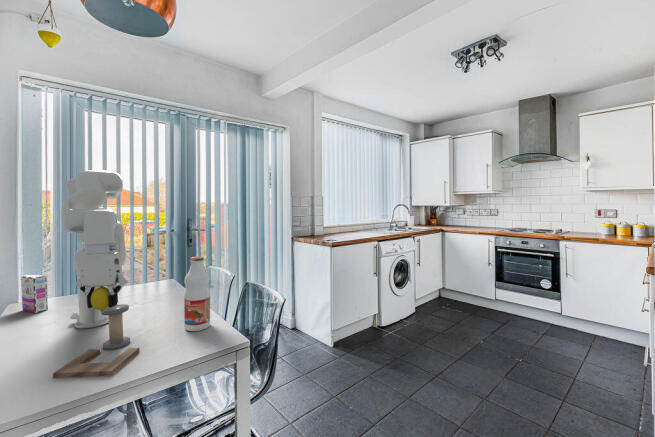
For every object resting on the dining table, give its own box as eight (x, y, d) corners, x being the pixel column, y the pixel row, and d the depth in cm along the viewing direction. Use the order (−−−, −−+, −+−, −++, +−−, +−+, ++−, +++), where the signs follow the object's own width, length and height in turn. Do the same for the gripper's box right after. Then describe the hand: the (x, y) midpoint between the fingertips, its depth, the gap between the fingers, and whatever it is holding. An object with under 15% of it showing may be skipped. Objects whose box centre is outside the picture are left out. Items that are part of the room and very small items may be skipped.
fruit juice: (215, 325, 121) (214, 256, 121) (194, 333, 113) (194, 260, 112) (199, 321, 126) (199, 254, 125) (179, 328, 118) (178, 257, 117)
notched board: (53, 378, 85) (52, 373, 85) (89, 353, 99) (89, 349, 99) (111, 376, 86) (111, 370, 86) (139, 351, 100) (139, 347, 100)
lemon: (117, 307, 97) (116, 283, 97) (106, 314, 92) (105, 288, 91) (98, 308, 96) (97, 284, 96) (86, 315, 91) (85, 289, 90)
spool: (96, 350, 101) (95, 312, 100) (112, 339, 109) (110, 304, 108) (121, 349, 102) (119, 312, 101) (135, 339, 110) (133, 304, 109)
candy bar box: (49, 310, 141) (47, 275, 140) (35, 313, 136) (33, 277, 135) (35, 307, 145) (33, 273, 144) (21, 310, 140) (19, 275, 139)
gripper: (135, 247, 97) (137, 301, 98) (80, 248, 97) (83, 303, 97) (121, 250, 90) (123, 310, 91) (61, 251, 89) (64, 311, 90)
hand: (102, 305), depth 94 cm, fingers closed on lemon, 5 cm apart
